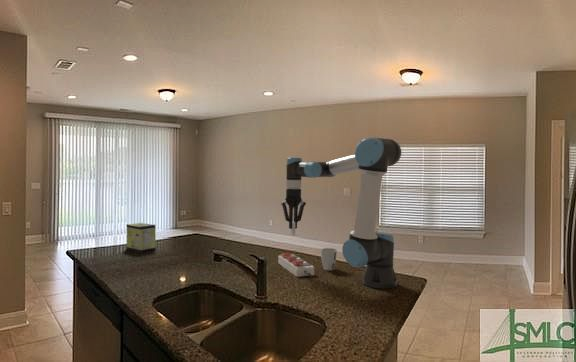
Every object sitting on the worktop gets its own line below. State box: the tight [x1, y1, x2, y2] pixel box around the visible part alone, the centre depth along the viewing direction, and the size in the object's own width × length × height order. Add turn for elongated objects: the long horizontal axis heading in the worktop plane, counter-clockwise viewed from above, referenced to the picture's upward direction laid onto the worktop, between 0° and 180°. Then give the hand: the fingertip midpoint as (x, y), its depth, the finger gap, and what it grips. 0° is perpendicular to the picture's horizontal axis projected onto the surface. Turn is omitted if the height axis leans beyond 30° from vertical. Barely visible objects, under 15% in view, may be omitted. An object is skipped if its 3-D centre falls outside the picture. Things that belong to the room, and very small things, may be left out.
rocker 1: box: [280, 252, 292, 256], centre depth 211 cm, size 5×4×2 cm
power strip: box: [277, 254, 315, 277], centre depth 201 cm, size 34×9×4 cm, turn 19°
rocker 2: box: [287, 256, 298, 260], centre depth 203 cm, size 5×4×2 cm
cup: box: [320, 247, 338, 271], centre depth 203 cm, size 8×8×10 cm
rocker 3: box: [292, 261, 303, 264], centre depth 194 cm, size 5×4×2 cm
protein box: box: [126, 222, 157, 253], centre depth 245 cm, size 10×16×16 cm
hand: (292, 235), depth 200 cm, fingers closed
